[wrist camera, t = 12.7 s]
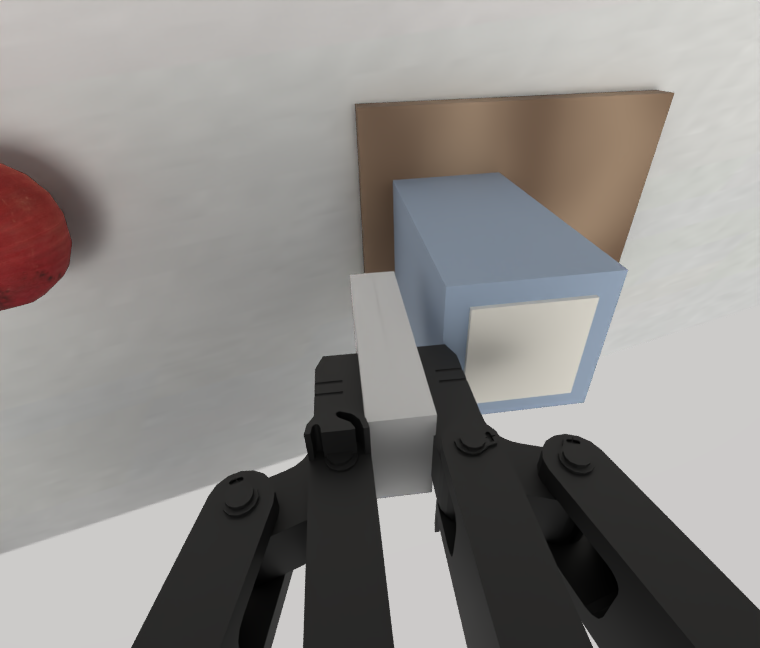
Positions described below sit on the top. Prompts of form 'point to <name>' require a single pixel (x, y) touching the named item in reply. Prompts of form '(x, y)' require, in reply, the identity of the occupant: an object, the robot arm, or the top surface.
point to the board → (514, 156)
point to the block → (503, 288)
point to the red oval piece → (29, 240)
